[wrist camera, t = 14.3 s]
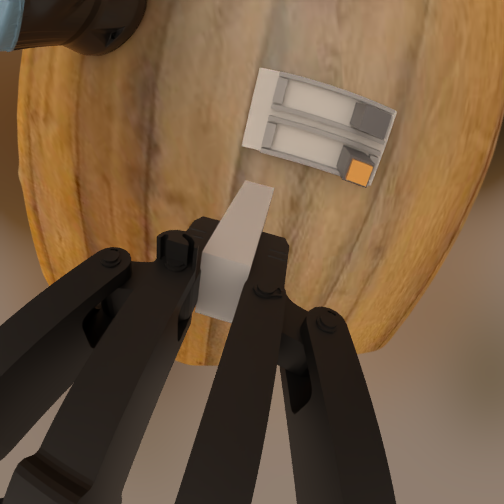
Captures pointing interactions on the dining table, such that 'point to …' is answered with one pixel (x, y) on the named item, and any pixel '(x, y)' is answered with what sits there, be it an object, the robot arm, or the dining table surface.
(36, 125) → the dining table surface
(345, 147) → the handle
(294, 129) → the panel
